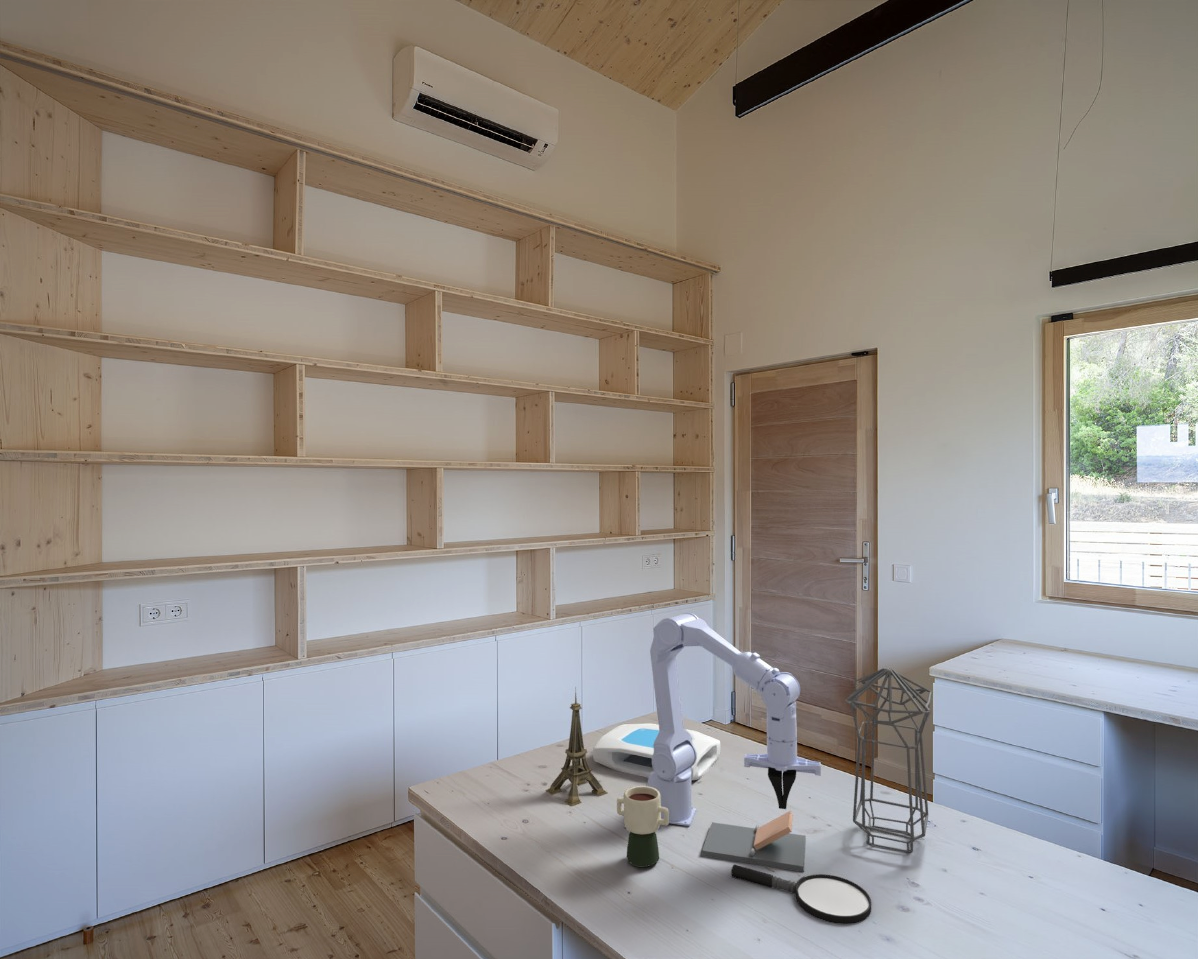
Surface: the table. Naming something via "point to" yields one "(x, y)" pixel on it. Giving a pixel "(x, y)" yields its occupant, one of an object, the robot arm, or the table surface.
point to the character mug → (642, 823)
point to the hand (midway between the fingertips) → (782, 806)
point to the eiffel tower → (576, 764)
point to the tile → (773, 830)
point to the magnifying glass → (818, 894)
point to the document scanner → (649, 749)
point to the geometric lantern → (854, 704)
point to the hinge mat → (740, 847)
